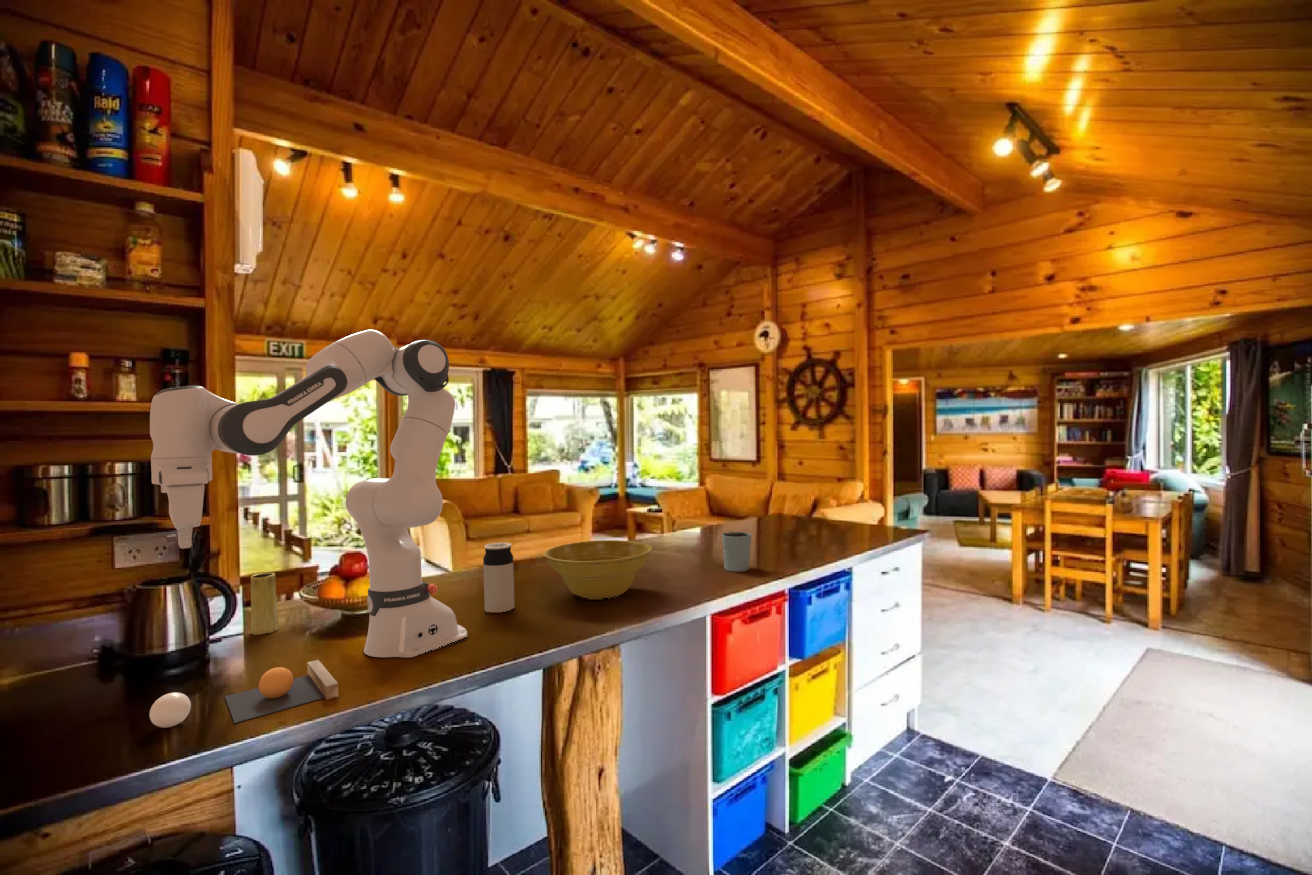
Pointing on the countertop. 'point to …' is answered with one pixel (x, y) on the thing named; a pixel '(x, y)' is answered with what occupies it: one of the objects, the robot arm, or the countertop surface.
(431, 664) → the countertop surface
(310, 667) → the pine strip
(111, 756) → the countertop surface
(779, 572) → the countertop surface
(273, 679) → the orange egg
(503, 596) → the travel mug
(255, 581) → the vase
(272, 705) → the dark gray mat
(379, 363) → the robot arm
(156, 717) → the white egg
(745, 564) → the grey cup
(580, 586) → the planter bowl
